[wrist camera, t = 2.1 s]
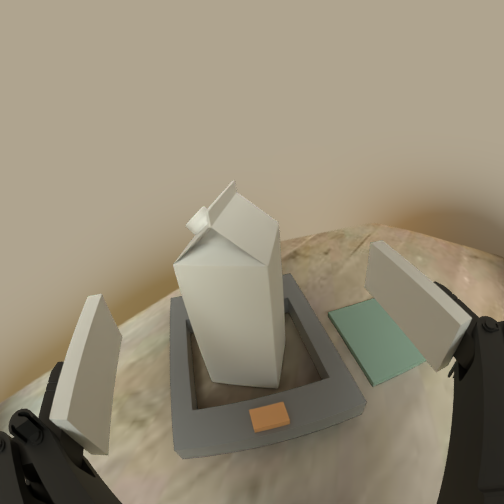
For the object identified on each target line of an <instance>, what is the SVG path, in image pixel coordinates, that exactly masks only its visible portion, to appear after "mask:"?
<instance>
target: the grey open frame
mask: <svg viewBox="0 0 504 504" xmlns="http://www.w3.org/2000/svg"><path fill="white" fill-rule="evenodd" d="M282 279H283V297H284V313H288V312H289V314H290V316H291V318H292V320H293V322H294V324H295V326H296V328H297V330H298V332H299V334H300V336H301V338H302V340H303V342H304V344H305V346H306V348H307V350H308V352H309V354H310V356H311V358H312V360H313V362H314V364H315V366H316V368H317V370H318V372H319V374H320V376H321V378H322V380H320V381H317V382H314V383H311V384H308V385H304V386H301V387H298V388H294V389H291V390H287V391H283V392H279V393H276V394H272V395H268V396H264V397H260V398H255V399H251V400H246V401H242V402H237V403H232V404H227V405H222V406H216V407H210V408H204V409H198V408H197V399H196V390H195V381H194V370H193V359H192V347H191V333H194V331H193V328H192V325H191V322H190V319H189V316H188V313H187V310H186V307H185V304H184V301H183V298H182V296H180V297H174V298H171V305H170V388H171V412H172V428H173V442H174V451H175V452H176V453H177V454H178V455H179V456H180V457H181V458H183V459H190V458H199V457H206V456H214V455H220V454H226V453H232V452H238V451H243V450H248V449H253V448H257V447H262V446H266V445H270V444H274V443H278V442H282V441H285V440H289V439H293V438H296V437H299V436H303V435H306V434H309V433H312V432H315V431H318V430H321V429H324V428H327V427H330V426H333V425H335V424H338V423H341V422H343V421H346V420H349V419H351V418H354V417H356V416H358V415H361V414H362V412H363V410H364V407H365V405H366V403H367V401H366V400H365V398H364V396H363V394H362V393H361V391H360V389H359V387H358V386H357V384H356V382H355V381H354V379H353V377H352V375H351V374H350V372H349V370H348V368H347V367H346V365H345V363H344V362H343V360H342V358H341V356H340V355H339V353H338V351H337V350H336V348H335V346H334V345H333V343H332V341H331V339H330V338H329V336H328V334H327V333H326V331H325V329H324V328H323V326H322V324H321V323H320V321H319V319H318V318H317V316H316V314H315V313H314V311H313V309H312V308H311V306H310V304H309V303H308V301H307V299H306V298H305V296H304V294H303V293H302V291H301V290H300V288H299V286H298V285H297V283H296V281H295V280H294V278H293V276H292V275H291V273H290V274H285V275H282Z"/></svg>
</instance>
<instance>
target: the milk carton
mask: <svg viewBox="0 0 504 504" xmlns="http://www.w3.org/2000/svg"><path fill="white" fill-rule="evenodd" d="M186 227H187V228H188V229H189V230H190V231H191V232H192V233H193V234H195V236H194V238H193V239H192V240H191V241H190V243H189V244H188V245H187V247H186V248H185V249H184V251H183V252H182V253H181V255H180V256H179V257H178V259H177V260H176V261H175V263H174V264H173V266H174V270H175V274H176V278H177V281H178V284H179V288H180V291H181V294H182V298H183V301H184V304H185V307H186V310H187V313H188V316H189V319H190V322H191V325H192V328H193V331H194V334H195V337H196V340H197V343H198V346H199V348H200V351H201V354H202V357H203V359H204V362H205V365H206V368H207V370H208V373H209V375H210V378H211V381H212V382H218V383H225V384H233V385H242V386H252V387H263V388H278V387H279V382H280V375H281V369H282V362H283V356H284V349H285V340H286V339H285V316H284V297H283V279H282V262H281V247H280V233H279V222H278V221H276V220H275V219H274V218H272V217H271V216H269V215H268V214H267V213H265V212H264V211H262V210H261V209H260V208H258V207H257V206H256V205H254V204H253V203H251V202H250V201H249V200H247V199H246V198H244V197H243V196H242V195H240V194H239V193H237V191H236V183H235V180H233V181H232V182H231V183H230V184H229V185H228V186H227V187H226V189H225V190H224V191H223V192H222V193H221V194H220V195H219V196H218V197H217V199H216V200H215V201H214V202H213V203H212V204H211V205H210V207H209V208H208V209H207V208H206V207H205V206H203V207H202V208H201V209H200V210H199V211H198V212H197V213H196V214H195V215H194V216H193V217H192V219H191V220H190V221H189V222H188V223H187V224H186Z"/></svg>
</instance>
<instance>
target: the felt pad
mask: <svg viewBox="0 0 504 504" xmlns="http://www.w3.org/2000/svg"><path fill="white" fill-rule="evenodd" d="M328 317H329V318H330V320H331V321H332V323H333V324H334V326H335V327H336V329H337V331H338V332H339V334H340V335H341V337H342V338H343V340H344V342H345V343H346V345H347V346H348V348H349V350H350V351H351V353H352V354H353V356H354V358H355V359H356V361H357V362H358V364H359V366H360V367H361V369H362V370H363V372H364V374H365V375H366V377H367V379H368V380H369V382H370V383H371V385H372V387H373V386H375V385H377V384H380V383H382V382H384V381H386V380H389V379H391V378H393V377H395V376H397V375H399V374H401V373H403V372H405V371H407V370H409V369H411V368H413V367H415V366H417V365H419V364H421V363H423V362H425V361H427V360H426V359H425V358H424V357H423V355H422V354H421V353H420V352H419V350H418V349H417V348H416V347H415V345H414V344H413V343H412V342H411V341H410V339H409V338H408V337H407V336H406V335H405V333H404V332H403V331H402V330H401V329H400V327H399V326H398V325H397V324H396V323H395V321H394V320H393V319H392V318H391V317H390V316H389V314H388V313H387V312H386V311H385V310H384V309H383V308H382V306H381V305H380V304H379V303H378V302H377V301H376V300H375V298H373V299H370V300H367V301H364V302H361V303H357V304H354V305H351V306H348V307H344V308H341V309H338V310H334V311H331V312H328Z"/></svg>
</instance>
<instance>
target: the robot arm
mask: <svg viewBox="0 0 504 504" xmlns="http://www.w3.org/2000/svg"><path fill="white" fill-rule="evenodd" d="M364 287H365V288H366V289H367V291H368V292H369V293H370V294H371V295H372V296H373V297H374V298H375V300H376V301H377V302H378V303H379V304H380V305H381V306H382V308H383V309H384V310H385V311H386V312H387V313H388V314H389V316H390V317H391V318H392V319H393V320H394V321H395V323H396V324H397V325H398V326H399V327H400V329H401V330H402V331H403V332H404V333H405V335H406V336H407V337H408V338H409V339H410V341H411V342H412V343H413V344H414V345H415V347H416V348H417V349H418V350H419V352H420V353H421V354H422V355H423V357H424V358H425V359H426V360H427V362H428V363H429V364H430V365H431V367H432V368H433V369H434V370H435V372H438V371H440V370H441V369H443V368H445V367H446V366H448V364H449V363H450V361H451V359H452V357H453V356H454V357H455V359H456V362H455V364H454V365H453V367H452V369H451V370H450V372H449V374H448V377H449V378H450V376H451V375H452V373H453V372H454V376H453V378H454V400H453V415H452V425H451V434H450V442H449V449H448V455H447V461H446V466H445V471H444V476H443V481H442V485H441V489H440V493H439V497H438V501H437V504H504V321H501V322H497V321H496V320H494V319H493V318H491V317H488V316H482V317H480V318H479V317H478V316H477V315H476V314H475V313H473V312H472V311H471V310H470V309H469V308H468V307H467V306H466V305H465V304H464V303H463V302H462V301H461V300H460V299H458V298H457V297H456V296H455V295H454V294H452V292H451V291H450V290H448V289H447V288H446V287H445V286H443V285H441V284H439V283H437V282H432V281H431V280H430V279H429V278H428V277H427V276H426V275H424V274H423V273H422V272H421V271H420V270H418V269H417V268H416V267H415V266H414V265H413V264H411V263H410V262H409V261H408V260H406V259H405V258H404V257H403V256H402V255H400V254H399V253H398V252H397V251H395V250H394V249H393V248H392V247H390V246H389V245H388V244H387V243H385V242H384V241H383V240H380V241H376V242H371V243H370V250H369V258H368V266H367V273H366V280H365V286H364ZM121 341H122V335H121V333H120V331H119V329H118V327H117V325H116V323H115V321H114V319H113V317H112V315H111V313H110V311H109V309H108V307H107V304H106V302H105V300H104V298H103V295H102V294H98V295H92V296H88V298H87V300H86V302H85V305H84V307H83V310H82V313H81V315H80V318H79V320H78V323H77V326H76V328H75V331H74V334H73V337H72V339H71V342H70V345H69V348H68V351H67V354H66V357H65V361H64V362H58V363H57V364H56V366H55V367H54V368H53V370H52V371H51V374H50V377H49V381H48V382H49V384H47V387H46V392H45V394H44V398H43V402H42V406H41V409H40V413H39V418H38V417H37V416H35V415H34V414H33V413H32V412H31V411H30V410H28V409H20V410H18V411H16V412H15V413H14V414H13V415H12V417H11V419H10V422H9V432H10V434H12V435H13V436H14V438H11V437H10V436H9V435H7V434H6V433H5V432H2V431H0V504H122V503H121V502H120V501H119V500H118V498H117V497H116V496H115V495H114V494H113V493H112V491H111V490H110V489H109V488H108V486H107V485H106V484H105V483H104V481H103V480H102V479H101V478H100V476H99V475H98V474H97V472H96V471H95V470H94V468H93V467H92V466H91V464H90V463H89V461H88V460H87V459H86V458H85V457H84V456H83V449H85V450H87V451H88V452H89V453H90V454H94V455H108V451H109V434H110V422H111V411H112V402H113V393H114V385H115V378H116V371H117V364H118V358H119V352H120V346H121ZM25 479H26V481H25Z"/></svg>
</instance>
